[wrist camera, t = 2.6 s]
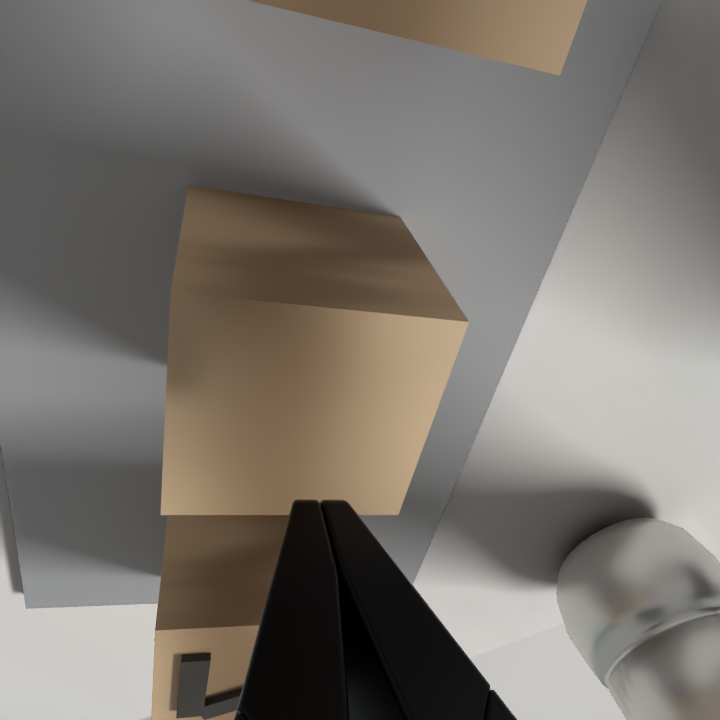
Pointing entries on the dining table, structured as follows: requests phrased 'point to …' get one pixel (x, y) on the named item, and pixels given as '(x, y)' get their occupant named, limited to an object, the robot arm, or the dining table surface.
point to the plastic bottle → (647, 618)
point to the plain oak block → (299, 357)
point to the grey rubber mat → (262, 178)
